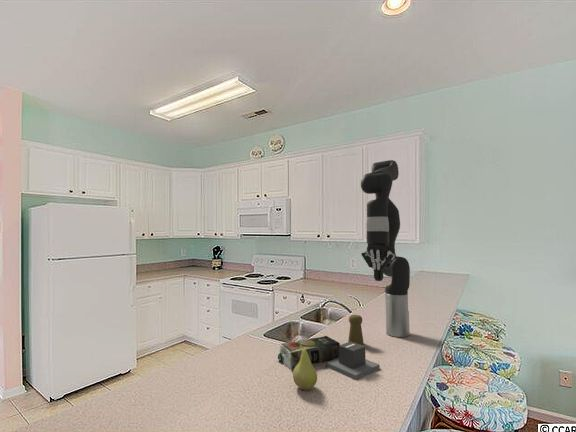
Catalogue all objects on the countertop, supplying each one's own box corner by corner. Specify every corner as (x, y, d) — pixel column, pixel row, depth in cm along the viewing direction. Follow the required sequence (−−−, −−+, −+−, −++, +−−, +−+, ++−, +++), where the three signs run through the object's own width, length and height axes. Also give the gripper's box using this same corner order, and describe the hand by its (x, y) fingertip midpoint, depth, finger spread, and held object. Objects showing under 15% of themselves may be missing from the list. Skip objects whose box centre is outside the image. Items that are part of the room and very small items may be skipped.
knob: (350, 358, 103) (350, 340, 104) (365, 363, 99) (365, 345, 99) (338, 362, 99) (338, 344, 100) (353, 369, 95) (353, 349, 95)
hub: (350, 356, 107) (349, 341, 108) (379, 368, 98) (379, 351, 98) (326, 366, 100) (326, 349, 100) (355, 379, 90) (355, 361, 91)
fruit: (301, 397, 81) (300, 350, 82) (287, 385, 87) (287, 342, 88) (321, 390, 84) (321, 346, 85) (307, 379, 91) (306, 338, 91)
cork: (364, 347, 117) (363, 317, 117) (348, 345, 118) (347, 316, 119) (363, 341, 123) (363, 313, 123) (348, 340, 124) (347, 312, 125)
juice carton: (288, 371, 97) (288, 351, 97) (276, 360, 106) (276, 341, 106) (341, 360, 105) (340, 342, 106) (325, 351, 114) (325, 334, 115)
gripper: (355, 230, 109) (356, 279, 108) (388, 229, 99) (389, 284, 98) (368, 230, 114) (369, 277, 113) (400, 230, 103) (402, 281, 102)
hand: (378, 280), depth 105 cm, fingers closed
